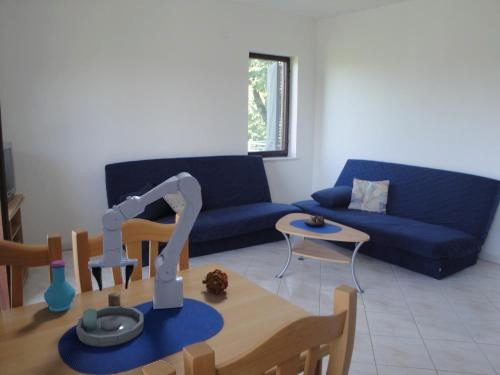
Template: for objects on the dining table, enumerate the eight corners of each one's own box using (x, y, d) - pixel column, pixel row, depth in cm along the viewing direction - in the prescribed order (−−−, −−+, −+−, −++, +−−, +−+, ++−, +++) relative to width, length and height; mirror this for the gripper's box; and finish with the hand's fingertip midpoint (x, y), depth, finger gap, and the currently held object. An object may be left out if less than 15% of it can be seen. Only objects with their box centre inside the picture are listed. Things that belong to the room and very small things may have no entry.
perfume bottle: (64, 314, 125) (61, 268, 123) (37, 311, 127) (35, 265, 125) (82, 301, 134) (80, 258, 132) (57, 298, 136) (54, 256, 134)
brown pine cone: (219, 303, 140) (209, 293, 151) (237, 286, 142) (226, 278, 153) (205, 285, 138) (196, 277, 149) (223, 268, 140) (213, 261, 151)
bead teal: (97, 324, 118) (97, 308, 118) (96, 330, 115) (95, 314, 114) (84, 325, 117) (84, 309, 117) (82, 331, 114) (82, 315, 113)
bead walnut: (120, 306, 132) (120, 292, 131) (120, 311, 128) (119, 296, 128) (109, 307, 131) (108, 293, 130) (108, 312, 127) (107, 297, 127)
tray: (143, 312, 128) (143, 303, 128) (143, 342, 111) (142, 333, 111) (82, 317, 124) (82, 308, 124) (72, 350, 107) (72, 340, 106)
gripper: (137, 242, 132) (137, 282, 134) (89, 244, 128) (91, 285, 130) (136, 249, 125) (137, 291, 127) (86, 251, 121) (88, 294, 124)
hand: (113, 288), depth 128 cm, fingers open, 7 cm apart
